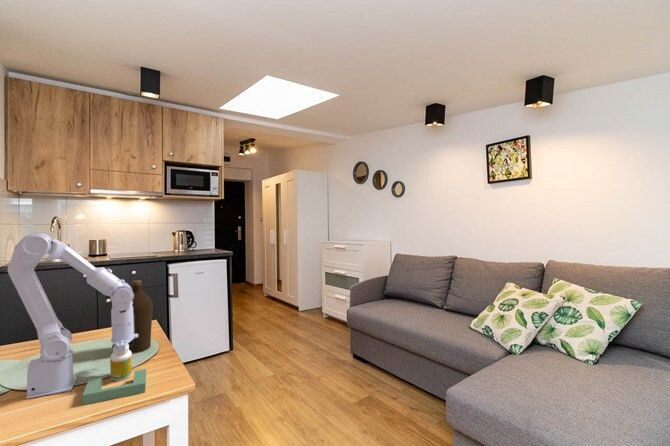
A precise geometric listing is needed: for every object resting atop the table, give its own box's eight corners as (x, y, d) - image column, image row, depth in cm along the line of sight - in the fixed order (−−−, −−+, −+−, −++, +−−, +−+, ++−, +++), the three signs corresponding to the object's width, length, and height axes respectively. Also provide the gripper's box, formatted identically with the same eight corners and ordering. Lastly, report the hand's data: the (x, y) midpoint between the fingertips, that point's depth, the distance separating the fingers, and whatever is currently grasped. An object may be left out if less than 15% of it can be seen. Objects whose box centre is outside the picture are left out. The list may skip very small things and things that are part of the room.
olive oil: (136, 341, 126) (137, 277, 126) (159, 345, 123) (159, 279, 123) (111, 352, 116) (111, 282, 116) (134, 356, 113) (135, 284, 113)
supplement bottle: (122, 382, 96) (122, 353, 94) (106, 379, 97) (105, 349, 95) (135, 371, 101) (135, 343, 100) (120, 368, 102) (119, 340, 100)
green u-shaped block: (82, 405, 84) (82, 395, 84) (89, 387, 92) (89, 379, 92) (145, 391, 91) (145, 383, 91) (146, 377, 99) (146, 368, 99)
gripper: (136, 327, 97) (138, 372, 97) (138, 314, 109) (139, 354, 110) (108, 332, 93) (109, 378, 94) (113, 317, 106) (114, 358, 106)
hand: (123, 365), depth 102 cm, fingers closed, pressing on supplement bottle
